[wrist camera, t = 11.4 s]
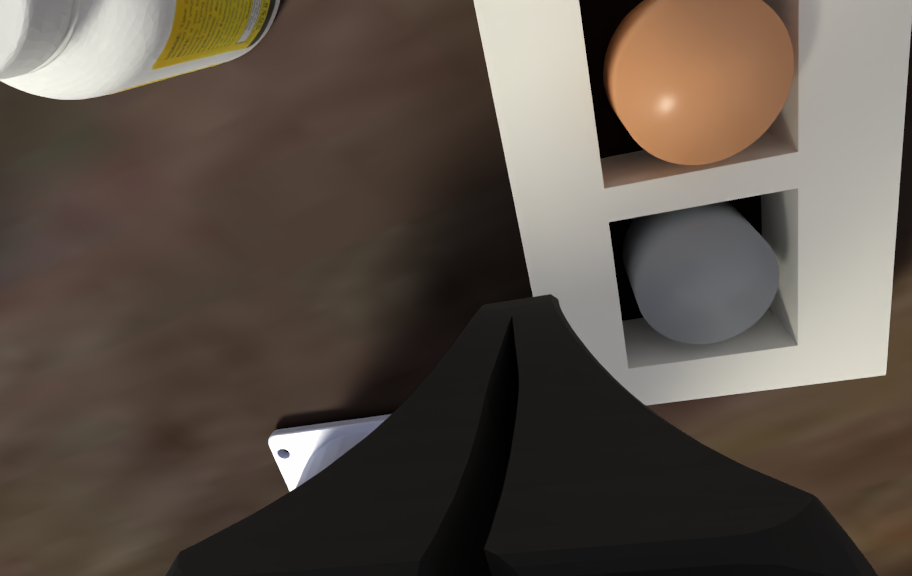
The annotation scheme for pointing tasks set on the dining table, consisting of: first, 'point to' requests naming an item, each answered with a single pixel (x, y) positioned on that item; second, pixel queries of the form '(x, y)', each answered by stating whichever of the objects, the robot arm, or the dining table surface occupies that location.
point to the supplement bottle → (121, 41)
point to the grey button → (700, 272)
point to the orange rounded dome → (698, 76)
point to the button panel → (717, 196)
